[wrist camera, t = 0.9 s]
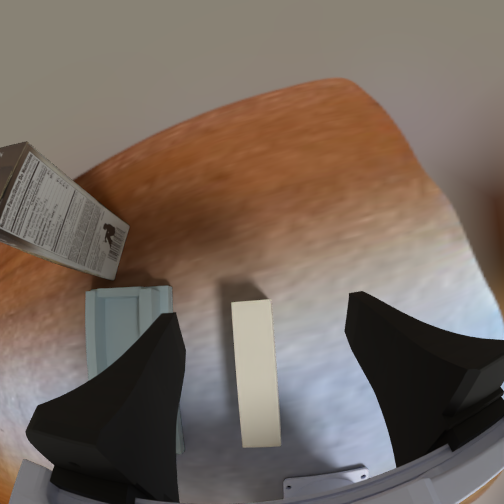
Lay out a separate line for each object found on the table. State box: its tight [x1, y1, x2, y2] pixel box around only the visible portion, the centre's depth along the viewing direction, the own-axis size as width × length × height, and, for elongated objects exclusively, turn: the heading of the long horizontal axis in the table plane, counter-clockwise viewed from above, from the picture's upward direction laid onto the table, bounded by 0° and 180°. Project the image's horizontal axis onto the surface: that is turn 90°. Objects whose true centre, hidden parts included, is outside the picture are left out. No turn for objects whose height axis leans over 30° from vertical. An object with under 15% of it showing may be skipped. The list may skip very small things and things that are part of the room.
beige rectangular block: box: [231, 299, 281, 448], centre depth 21 cm, size 12×3×3 cm, turn 4°
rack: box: [85, 286, 185, 454], centre depth 22 cm, size 16×9×3 cm, turn 4°
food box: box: [0, 142, 130, 280], centre depth 20 cm, size 9×6×16 cm
